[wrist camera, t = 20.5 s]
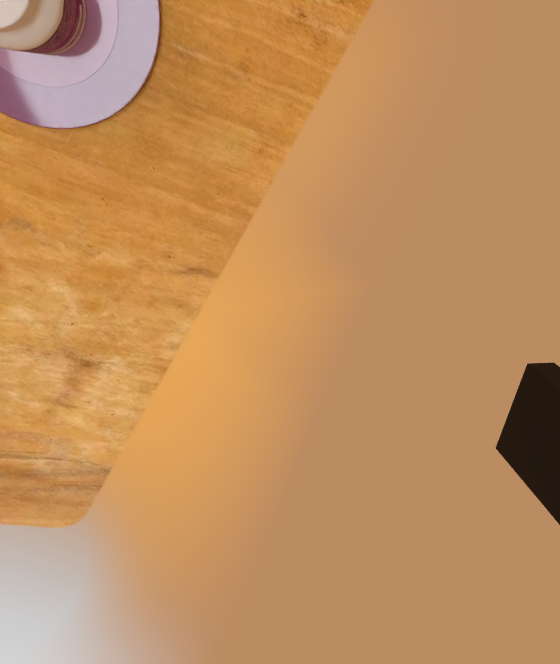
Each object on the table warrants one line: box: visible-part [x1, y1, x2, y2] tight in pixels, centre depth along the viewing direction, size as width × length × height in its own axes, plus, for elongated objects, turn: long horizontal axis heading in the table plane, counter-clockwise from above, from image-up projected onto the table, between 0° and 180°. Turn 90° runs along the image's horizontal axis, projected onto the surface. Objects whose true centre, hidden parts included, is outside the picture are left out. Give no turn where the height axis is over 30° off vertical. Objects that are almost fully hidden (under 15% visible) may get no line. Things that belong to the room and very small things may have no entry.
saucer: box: [0, 0, 161, 129], centre depth 29 cm, size 14×14×1 cm
